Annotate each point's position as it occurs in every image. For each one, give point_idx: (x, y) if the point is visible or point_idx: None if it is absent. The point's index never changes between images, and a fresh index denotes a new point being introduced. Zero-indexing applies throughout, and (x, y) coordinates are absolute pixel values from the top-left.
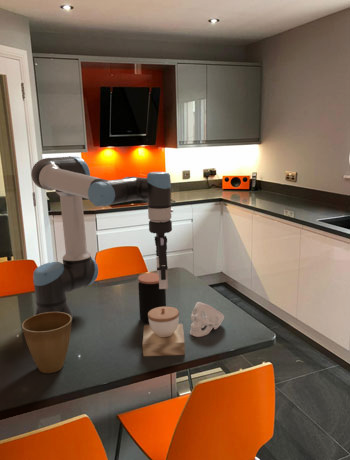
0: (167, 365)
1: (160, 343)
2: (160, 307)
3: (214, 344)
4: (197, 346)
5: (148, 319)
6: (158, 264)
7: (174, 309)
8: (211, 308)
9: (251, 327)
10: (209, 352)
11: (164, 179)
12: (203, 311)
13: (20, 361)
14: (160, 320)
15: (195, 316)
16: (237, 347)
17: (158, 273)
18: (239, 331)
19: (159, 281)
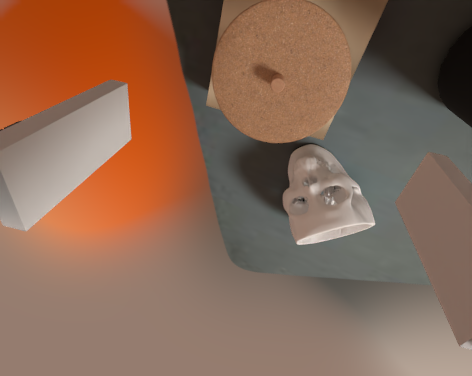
0: (173, 29)
1: (219, 27)
2: (336, 83)
3: (241, 174)
4: (244, 137)
5: (469, 35)
6: (463, 229)
7: (282, 132)
8: (296, 237)
9: (283, 261)
10: (210, 151)
11: None
12: (303, 214)
13: None
14: (217, 47)
15: (317, 186)
16: (215, 206)
17: (427, 169)
18: (276, 238)
19: (72, 100)
